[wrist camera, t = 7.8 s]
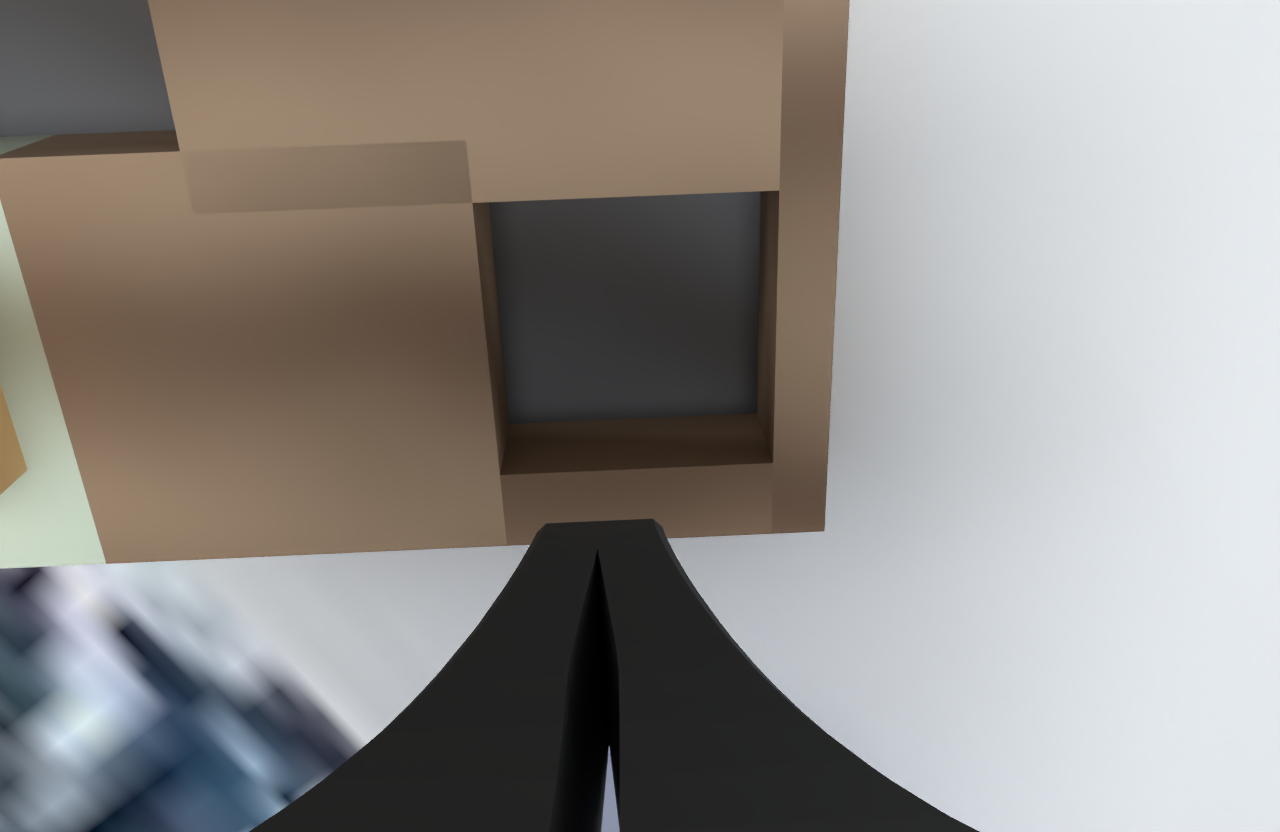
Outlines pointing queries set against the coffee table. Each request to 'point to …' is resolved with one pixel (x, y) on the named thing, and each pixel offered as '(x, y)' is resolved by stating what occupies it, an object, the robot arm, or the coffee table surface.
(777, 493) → the trap board
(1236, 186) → the coffee table surface
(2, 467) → the block
